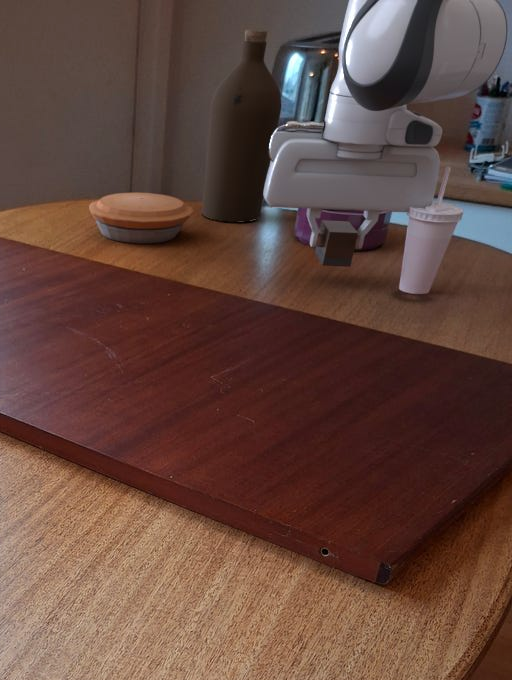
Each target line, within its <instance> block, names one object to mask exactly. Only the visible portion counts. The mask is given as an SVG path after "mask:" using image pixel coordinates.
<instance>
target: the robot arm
mask: <svg viewBox="0 0 512 680" xmlns="http://www.w3.org/2000/svg"><path fill="white" fill-rule="evenodd" d="M507 39H508V20H507V16H506V12H505V9H504V8H503V6H502V5H501V3H500V2H499V1H498V0H348V3H347V7H346V11H345V15H344V19H343V24H342V28H341V33H340V39H339V44H338V68H337V72H336V75H335V77H334V80H333V82H332V84H331V87H330V90H329V95H328V100H327V105H326V111H325V117H324V121H321V120H320V121H298V120H288V121H286V122H285V124H282V125H281V124H280V125H278V127H277V129H276V130H275V131H274V132H273V134H272V136H271V140H270V146H269V157H270V159H271V161H270V166H269V170H268V173H267V177H266V181H265V186H264V191H263V196H264V197H263V200H264V201H265V202H266V204H267V205H268V206H269V207H271V208H283V209H284V208H285V209H298V208H307V213H306V215H307V218H308V221H309V224H310V227H311V229H312V233H311V238H310V245H309V246H310V247H311V248H316V247H323V243H324V241H323V240H324V239H325V234H326V233H325V232H324V230H319V229H318V226H317V223H316V220H315V217H316V218H320V216H321V211H322V209H333V210H359V211H364V214H363V216H364V217H365V218H366V220H365V221H364V222H363V224H362V225H361V226H360V228H359V229H358V230H357V232H358V236H357V240H356V245H355V249H361V248H362V245H363V241H364V237H365V235H366V234H367V233H368V232H369V231H370V229H371V228H372V227H373V226H374V225H375V223H376V222H377V221H378V217H379V213H380V211H384V212H392V213H407V212H409V211H410V207H413V208H426V207H427V206H430V205H431V204H432V202H433V201H434V198H435V195H436V192H437V191H436V190H437V185H438V179H439V174H440V167H441V166H440V165H441V158H440V155H439V152H438V150H437V149H436V148H435V147H436V146H437V145H438V144H439V143H440V141H441V140H442V135H443V128H442V126H441V125H439V123H437V122H435V120H432V119H430V118H428V117H425V116H423V115H422V113H419V112H418V111H416V110H413V109H411V110H408V109H407V108H408V107H407V105H409V104H410V105H411V104H421V103H431V102H436V101H443V100H452V99H457V98H461V97H464V96H466V95H469V94H473V93H474V92H476V91H477V90H479V89H480V88H482V86H484V85H485V84H486V83H487V82H488V81H489V80H490V79H491V77H492V76H493V74H495V72H496V70H497V68H498V67H499V64H500V63H501V61H502V58H503V56H504V53H505V50H506V45H507ZM283 129H284V130H283ZM433 203H434V202H433Z"/></svg>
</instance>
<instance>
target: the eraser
mask: <svg viewBox="0 0 512 680" xmlns="http://www.w3.org/2000/svg"><path fill="white" fill-rule="evenodd" d="M320 230H324V232H325V233H326V234H325V239H324V240H323V241H324V243H323V247H315V251H314V253H315V255H316V257H317V258H318V261H319V262H320V264H321V265H322V266H325V267H326V266H327V267H347V268H348V267H349V268H350V267H351V266H352V262H353V258H354V254H355V253H354V252H355V251H354V249H355V245H356V240H357V236H358V232H357V231H356V230H355V229H354V227H353V226H352V225H351V224H350V222H349V221H327V220H322V221H321V226H320Z"/></svg>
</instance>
